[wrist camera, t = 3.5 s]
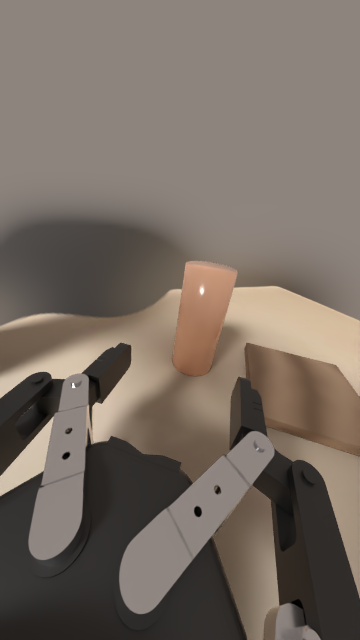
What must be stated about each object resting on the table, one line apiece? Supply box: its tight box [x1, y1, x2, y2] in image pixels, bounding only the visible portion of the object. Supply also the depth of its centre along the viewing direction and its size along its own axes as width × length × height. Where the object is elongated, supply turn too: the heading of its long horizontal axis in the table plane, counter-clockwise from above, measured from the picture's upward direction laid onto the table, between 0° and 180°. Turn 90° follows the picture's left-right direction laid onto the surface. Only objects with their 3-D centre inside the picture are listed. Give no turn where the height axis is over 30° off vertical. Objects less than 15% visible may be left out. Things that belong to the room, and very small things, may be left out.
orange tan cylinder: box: [172, 261, 238, 376], centre depth 23 cm, size 6×6×13 cm
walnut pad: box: [245, 343, 360, 456], centre depth 23 cm, size 13×13×1 cm
